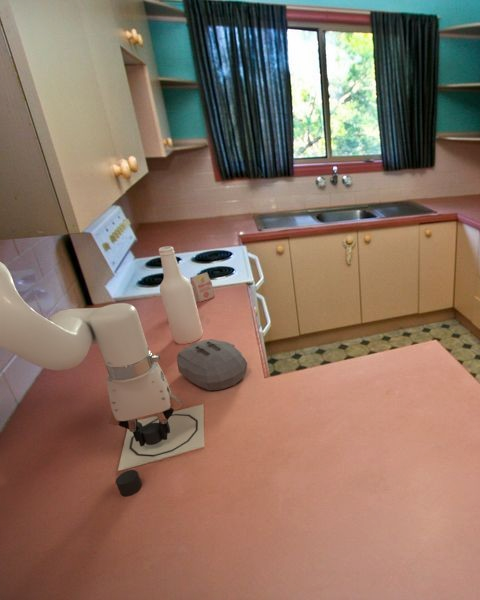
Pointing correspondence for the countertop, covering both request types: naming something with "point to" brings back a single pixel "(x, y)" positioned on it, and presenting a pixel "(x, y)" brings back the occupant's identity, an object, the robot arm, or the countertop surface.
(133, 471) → the cylinder
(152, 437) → the cylinder
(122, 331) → the robot arm
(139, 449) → the sheet
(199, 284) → the small printed carton
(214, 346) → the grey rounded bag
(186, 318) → the alcohol
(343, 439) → the countertop surface
